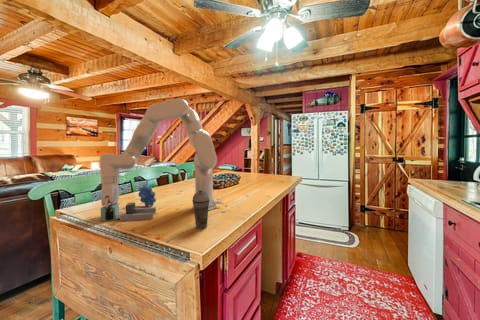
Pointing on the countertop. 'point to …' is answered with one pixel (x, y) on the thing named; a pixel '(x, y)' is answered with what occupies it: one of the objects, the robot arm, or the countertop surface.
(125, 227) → the countertop surface
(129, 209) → the plunger
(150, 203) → the grapes
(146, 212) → the channel
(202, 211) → the beverage cup
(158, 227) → the countertop surface
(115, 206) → the block
